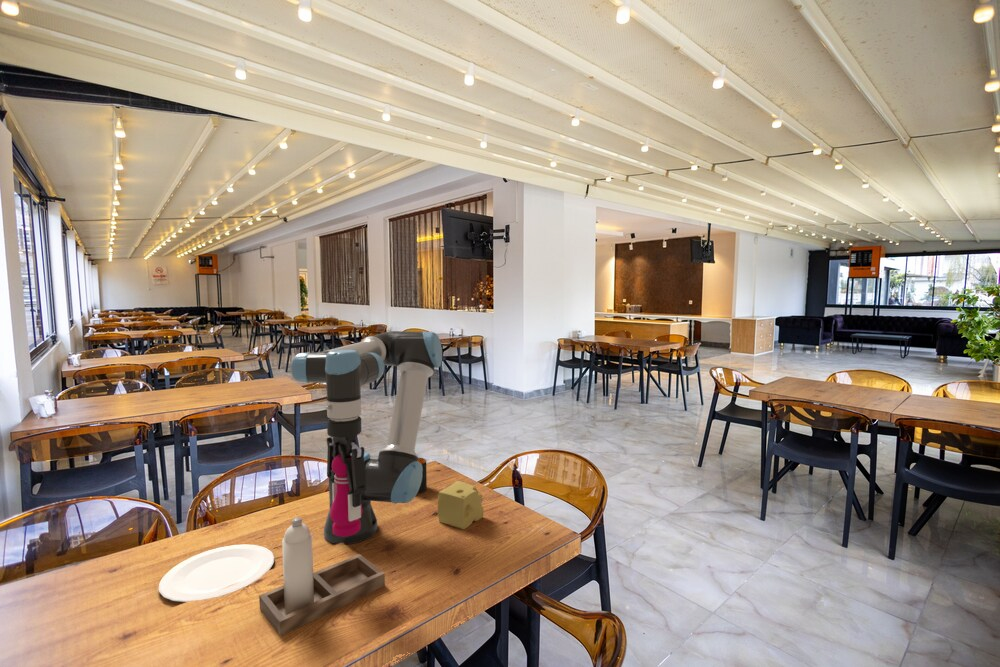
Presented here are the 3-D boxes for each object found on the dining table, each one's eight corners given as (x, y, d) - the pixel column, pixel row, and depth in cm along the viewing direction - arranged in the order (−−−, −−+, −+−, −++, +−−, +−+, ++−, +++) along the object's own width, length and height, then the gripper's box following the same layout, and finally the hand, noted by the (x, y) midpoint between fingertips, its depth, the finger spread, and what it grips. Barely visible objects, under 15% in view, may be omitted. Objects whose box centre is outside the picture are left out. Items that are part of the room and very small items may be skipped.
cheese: (483, 517, 151) (483, 486, 150) (463, 531, 142) (463, 498, 141) (457, 509, 156) (457, 479, 156) (436, 522, 147) (436, 491, 146)
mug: (409, 499, 164) (408, 470, 163) (401, 487, 175) (400, 459, 174) (432, 495, 167) (432, 466, 166) (423, 483, 178) (422, 456, 177)
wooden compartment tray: (280, 641, 96) (279, 621, 96) (259, 613, 105) (259, 595, 104) (384, 590, 113) (384, 573, 113) (359, 569, 122) (359, 554, 121)
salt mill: (280, 607, 105) (277, 519, 103) (307, 595, 109) (304, 510, 107) (291, 621, 101) (287, 529, 99) (318, 607, 105) (316, 519, 103)
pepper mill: (353, 539, 108) (351, 453, 106) (324, 536, 109) (322, 450, 107) (368, 524, 115) (366, 443, 113) (340, 521, 116) (338, 441, 115)
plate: (256, 540, 137) (256, 534, 137) (289, 576, 119) (289, 569, 119) (149, 575, 120) (149, 568, 120) (170, 623, 102) (169, 616, 102)
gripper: (309, 412, 114) (312, 505, 116) (350, 428, 100) (352, 534, 102) (339, 407, 119) (341, 496, 121) (381, 422, 105) (383, 522, 107)
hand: (346, 513), depth 111 cm, fingers closed on pepper mill, 7 cm apart
